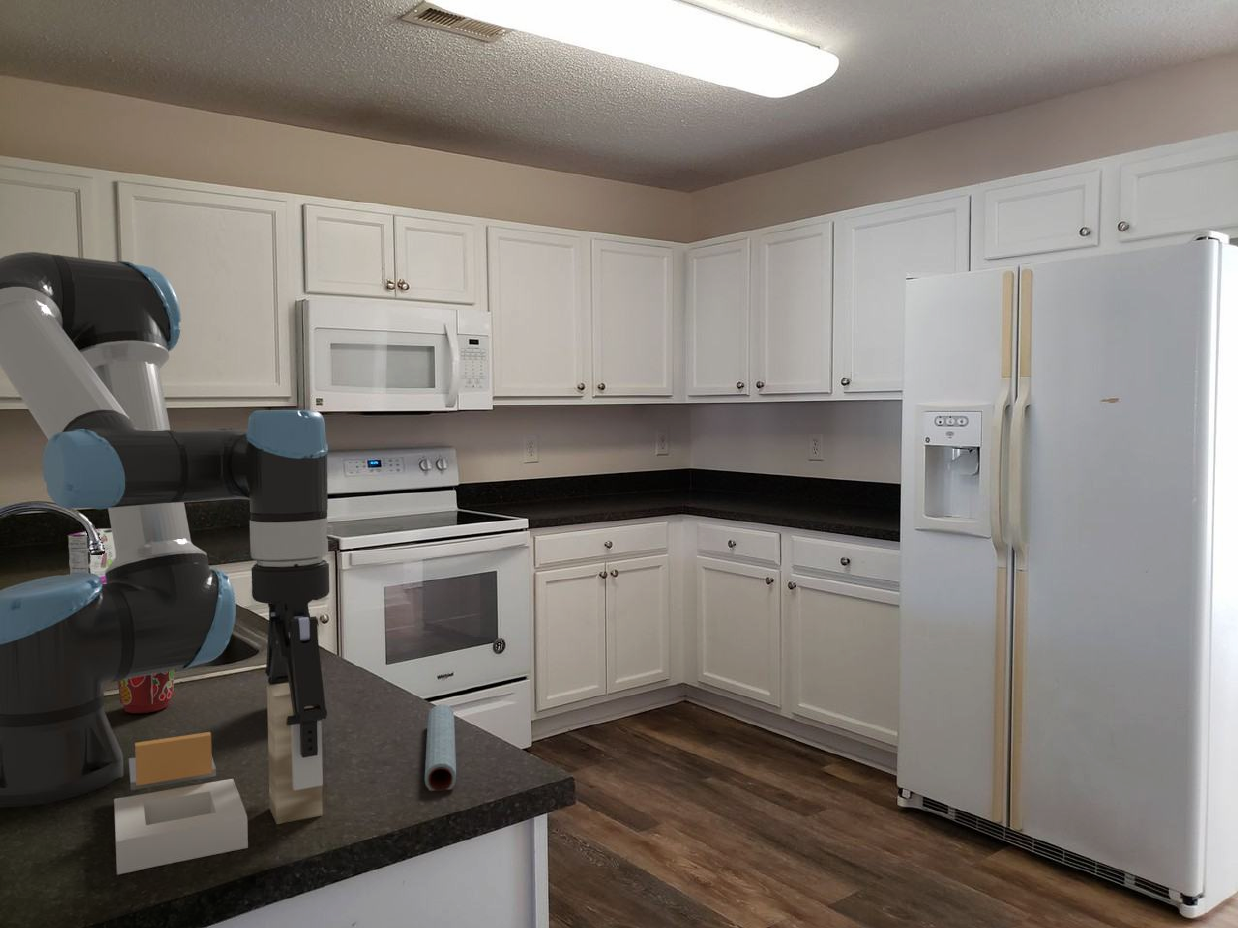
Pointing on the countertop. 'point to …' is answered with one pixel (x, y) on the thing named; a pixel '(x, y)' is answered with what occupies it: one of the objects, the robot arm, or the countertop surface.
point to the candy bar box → (84, 560)
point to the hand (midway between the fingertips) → (295, 765)
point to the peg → (286, 763)
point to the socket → (178, 825)
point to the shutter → (171, 761)
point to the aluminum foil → (440, 749)
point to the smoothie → (147, 692)
